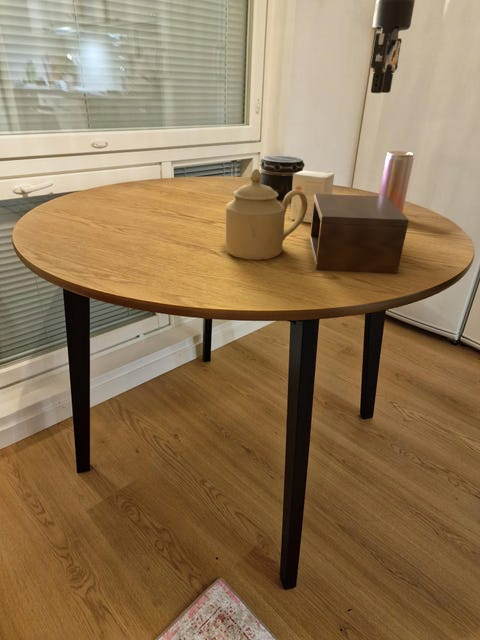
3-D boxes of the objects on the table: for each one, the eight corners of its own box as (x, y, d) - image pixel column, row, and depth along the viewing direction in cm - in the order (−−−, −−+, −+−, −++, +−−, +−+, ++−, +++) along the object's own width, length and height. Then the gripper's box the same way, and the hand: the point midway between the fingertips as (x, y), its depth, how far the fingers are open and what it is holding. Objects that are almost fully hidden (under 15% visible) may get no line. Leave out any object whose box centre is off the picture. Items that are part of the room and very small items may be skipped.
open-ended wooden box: (378, 242, 87) (386, 196, 82) (397, 273, 73) (409, 219, 68) (309, 239, 88) (314, 193, 83) (315, 269, 74) (322, 216, 69)
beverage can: (370, 218, 102) (381, 152, 95) (382, 214, 106) (394, 150, 99) (393, 224, 99) (406, 155, 91) (405, 219, 102) (419, 153, 95)
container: (304, 191, 126) (307, 156, 121) (298, 201, 115) (302, 163, 110) (262, 188, 129) (264, 153, 124) (253, 198, 118) (254, 160, 113)
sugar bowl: (265, 233, 91) (269, 159, 84) (306, 246, 84) (314, 167, 77) (213, 248, 82) (212, 167, 75) (253, 265, 75) (257, 177, 68)
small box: (329, 219, 101) (335, 173, 96) (321, 225, 97) (326, 177, 92) (298, 214, 105) (302, 169, 99) (289, 219, 100) (292, 173, 95)
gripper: (408, -7, 78) (391, 93, 86) (420, 5, 89) (404, 92, 97) (367, -4, 81) (354, 93, 89) (383, 7, 92) (371, 92, 100)
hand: (380, 92), depth 93 cm, fingers open, 8 cm apart
